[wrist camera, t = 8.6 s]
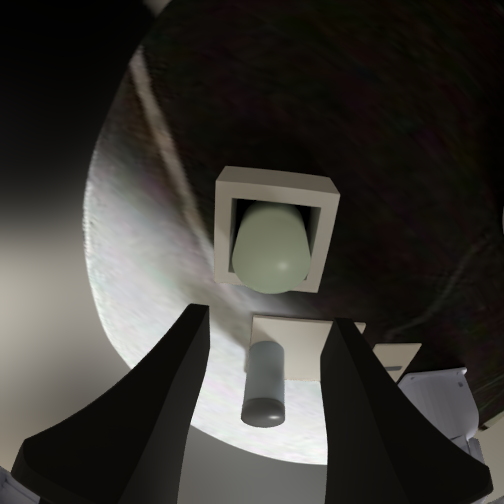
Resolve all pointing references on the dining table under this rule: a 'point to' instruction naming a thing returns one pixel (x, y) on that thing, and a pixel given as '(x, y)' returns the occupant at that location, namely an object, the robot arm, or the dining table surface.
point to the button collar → (275, 190)
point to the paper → (296, 342)
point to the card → (396, 357)
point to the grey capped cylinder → (264, 386)
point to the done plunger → (271, 248)
